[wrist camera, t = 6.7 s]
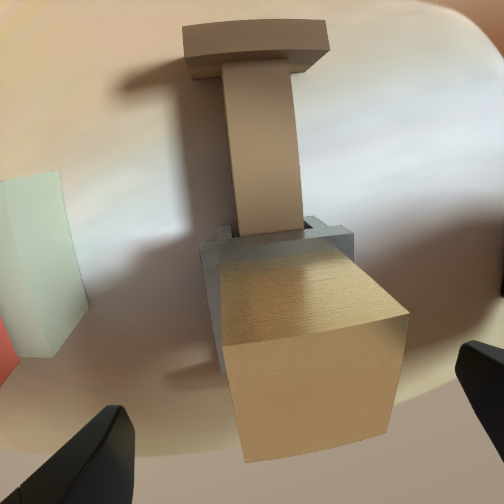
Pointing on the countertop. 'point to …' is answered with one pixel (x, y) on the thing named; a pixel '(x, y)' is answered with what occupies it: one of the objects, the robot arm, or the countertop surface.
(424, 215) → the countertop surface
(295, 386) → the carriage
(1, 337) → the red cube
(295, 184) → the brown i-shaped bar
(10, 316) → the cabinet
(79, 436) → the robot arm
